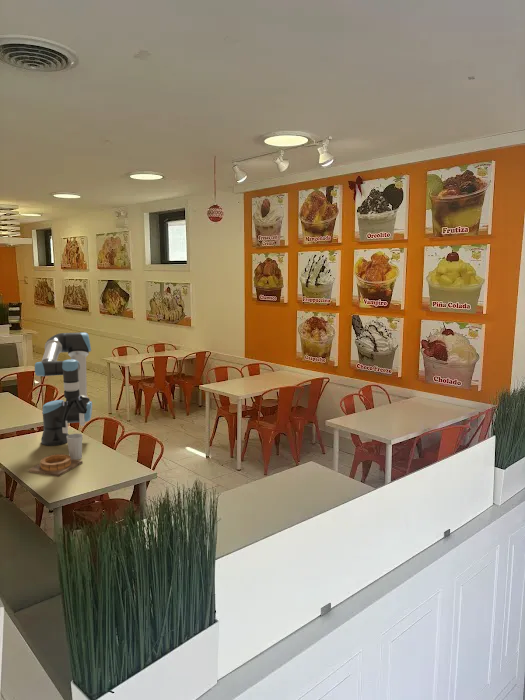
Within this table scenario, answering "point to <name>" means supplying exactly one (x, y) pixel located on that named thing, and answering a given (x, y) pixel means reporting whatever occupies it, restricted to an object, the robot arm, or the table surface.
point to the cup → (75, 446)
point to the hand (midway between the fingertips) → (74, 429)
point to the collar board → (57, 472)
